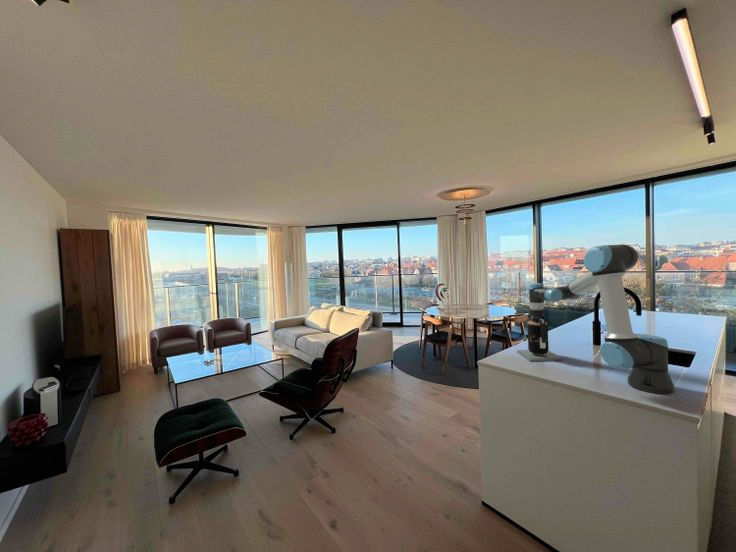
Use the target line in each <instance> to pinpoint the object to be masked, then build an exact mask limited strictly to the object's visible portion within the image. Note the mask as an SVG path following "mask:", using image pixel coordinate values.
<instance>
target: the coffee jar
mask: <svg viewBox="0 0 736 552" xmlns="http://www.w3.org/2000/svg"><path fill="white" fill-rule="evenodd" d="M526 323H527V347H528V348H527V350H529V351H530V352H531V353H535V354H546V353H547V352H548V351H550V350H549V325H548V322H547V321H545V325H546V330H547V335H548V337H545V343H546V348H540V330H541V327H540V323H535V322H532V321H530V320H527V322H526Z"/></svg>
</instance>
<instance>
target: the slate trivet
mask: <svg viewBox="0 0 736 552" xmlns="http://www.w3.org/2000/svg"><path fill="white" fill-rule="evenodd" d="M516 353H517V354H519V356H521V357H523V358H524V359H525V360H527V361H529V362H530V363H533V361H535V362H553V361H554V360H561V361H563V358H562V357H560V355H557V354H555V353H553V352H552V351H550V350H549V351H548V352H547V353H546V354H535V353H531V352H530V351H529V349H518V350H516ZM554 362H555V361H554Z"/></svg>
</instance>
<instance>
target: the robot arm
mask: <svg viewBox="0 0 736 552" xmlns="http://www.w3.org/2000/svg"><path fill="white" fill-rule="evenodd" d="M639 260H640V259H639V253H638V251H637V250H636V248H634V247H633V246H631V245H628V244H623V243H622V244H608V245H597V246H593V247H590V249H588V250H587V252H586V253H585V255H584V257H583V267H585V269H586V270H587V271H588V272H586V273H584V274H582V275H581V276H580V277H578V278H577V279H575V280H573V281H571V282H570V283H569V284H567V285H564V286H553V287H544V284H543V283H540V282H539V283H537V282H534V283H532V282H531V283H529V286H528V299H529V300H528V301H529V321H532V322H535V323H540V327H541V330H540V348H546V343H545V337H548V338H549V334H548V335H547V330H546V325H545V322H546V319H543V318H542V317H544V316H545V310H544V308H545V307H544V306H545V302H546V301H547V302H550V303H558V302H560V301H566V300H575V299H578V298H580V297H581V295H582V294H583V293H585V292H586V291H588V290H590V289H593V287H594V288H595V286H598V290H599V294H600V295H599V296H600V300H601V305H602V310H603V315H604V322H605V327H606V332H607V333H606V334H605V335H603V339H604V343H602V344H601V345H600V348H599V353H600V356H601V358H602V359H603V361H604V362H605V363H606V364H608V365H609V366H610V367H611V368H614V369H618V370H629V369H631V370H630V371H629V374H628V376H627V384H628V385H629V386H630V387H632V388H634V389H637V390H639V391H643V392H647V393H652V394H653V393H654V394H658V395H659V394H663V395H665V394H667V395H668V394H673V393H674V392H675V385H674V383H673V380H672V378H671V375H670V374H669V344H668V340H667V339H666V338H664V337H661V336H658V335H653V334H645V333H634V332H633V327H632V323H631V322H632V321H631V317H630V313H629V307H628V301H627V298H626V297H627V296H626V292H625V287H624V282H623V277H624V275H625V274H626V272H627V271H629V270H630V269H632V268H634V267H635V266H636V265H637V263H638V261H639Z"/></svg>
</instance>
